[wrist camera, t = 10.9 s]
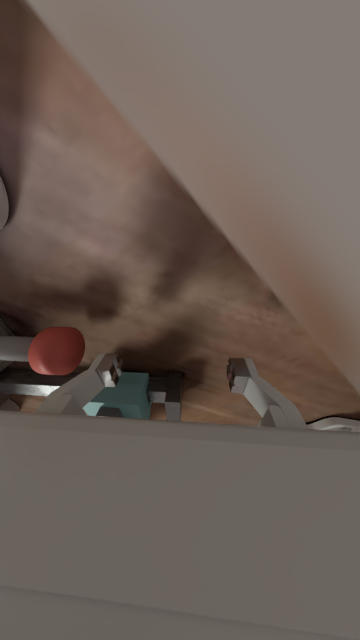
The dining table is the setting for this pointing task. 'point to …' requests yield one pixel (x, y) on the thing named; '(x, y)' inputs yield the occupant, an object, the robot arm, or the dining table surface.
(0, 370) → the cabinet
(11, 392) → the rail
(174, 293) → the dining table surface
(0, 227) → the supplement bottle
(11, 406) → the thermos bottle
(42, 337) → the plunger
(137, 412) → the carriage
